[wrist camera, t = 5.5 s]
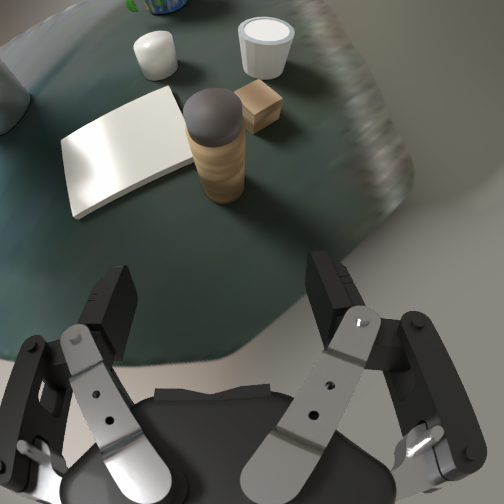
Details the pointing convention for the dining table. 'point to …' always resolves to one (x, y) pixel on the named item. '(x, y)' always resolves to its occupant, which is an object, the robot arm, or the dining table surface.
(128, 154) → the stone tile
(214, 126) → the pepper mill
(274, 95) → the wooden block
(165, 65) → the white rounded cylinder
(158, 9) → the snack cup
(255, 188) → the dining table surface
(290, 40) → the white tapered cylinder
